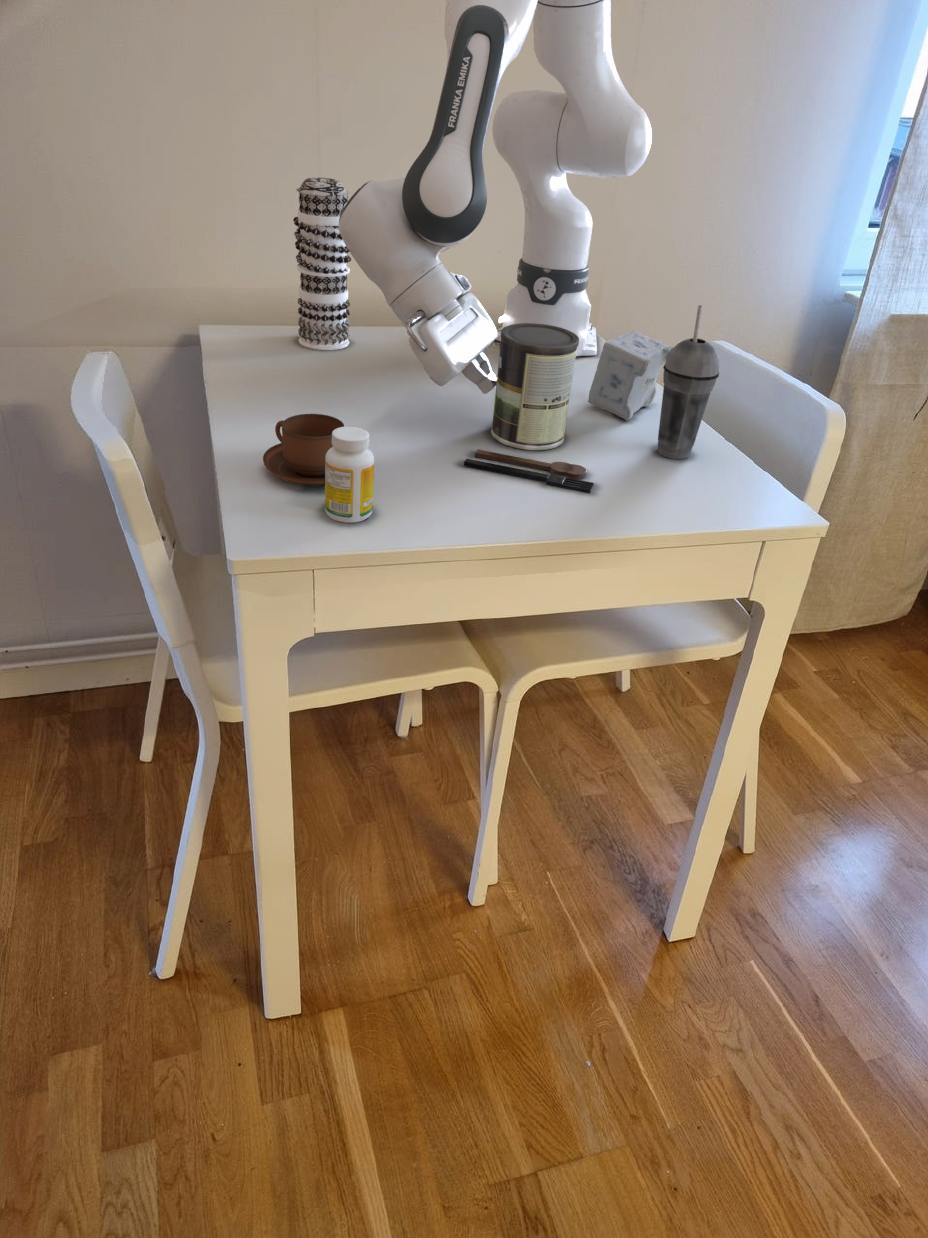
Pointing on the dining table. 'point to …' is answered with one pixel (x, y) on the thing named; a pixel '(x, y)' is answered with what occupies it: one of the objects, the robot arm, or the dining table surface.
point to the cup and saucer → (302, 448)
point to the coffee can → (533, 385)
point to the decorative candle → (322, 265)
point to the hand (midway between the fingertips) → (492, 388)
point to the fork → (533, 475)
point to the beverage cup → (686, 393)
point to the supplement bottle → (349, 476)
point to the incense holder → (628, 373)
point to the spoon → (537, 464)
